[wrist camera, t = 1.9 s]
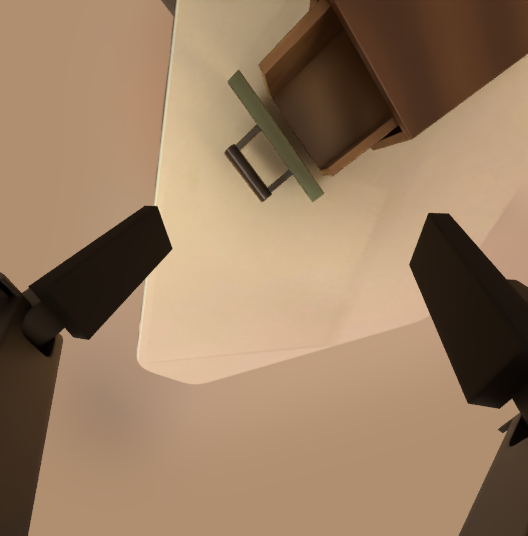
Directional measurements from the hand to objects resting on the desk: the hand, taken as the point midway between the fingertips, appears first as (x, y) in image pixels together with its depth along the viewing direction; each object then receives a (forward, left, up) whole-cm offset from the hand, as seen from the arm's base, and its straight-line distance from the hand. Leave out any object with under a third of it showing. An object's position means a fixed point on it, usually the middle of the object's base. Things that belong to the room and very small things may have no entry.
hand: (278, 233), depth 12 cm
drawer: (-8, 0, -18) cm, 20 cm away
